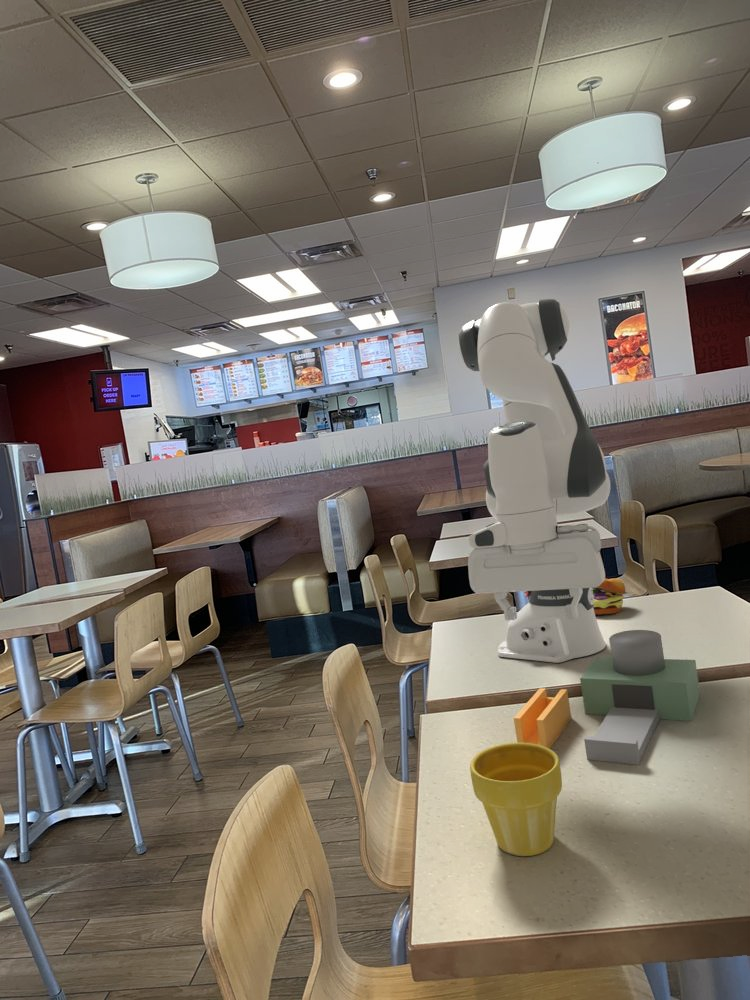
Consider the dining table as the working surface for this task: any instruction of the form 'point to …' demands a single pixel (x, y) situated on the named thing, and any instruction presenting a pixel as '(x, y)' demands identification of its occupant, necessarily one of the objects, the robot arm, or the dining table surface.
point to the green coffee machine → (635, 695)
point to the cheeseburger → (608, 596)
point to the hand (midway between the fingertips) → (541, 618)
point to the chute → (543, 718)
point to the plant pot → (519, 794)
